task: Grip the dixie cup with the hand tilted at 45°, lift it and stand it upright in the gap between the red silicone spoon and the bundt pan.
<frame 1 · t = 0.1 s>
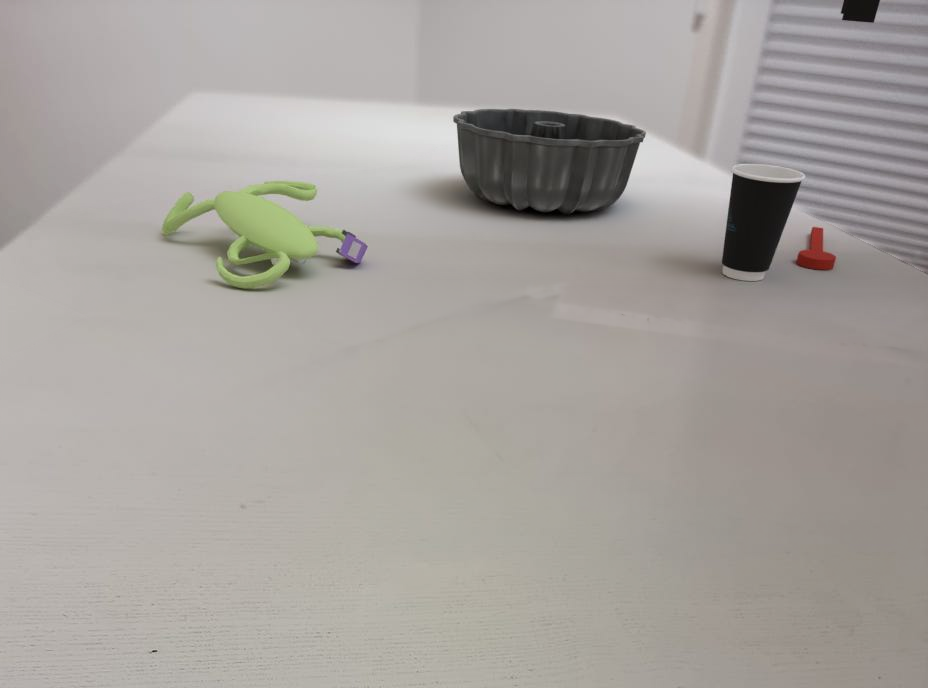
hand: (855, 18, 87), 25 cm above the table, tool pointing down, fingers open, 13 cm apart
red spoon: (815, 251, 117), on the table
figurine: (265, 252, 104), on the table
dixie cup: (742, 276, 107), on the table
bundt pan: (541, 202, 131), on the table
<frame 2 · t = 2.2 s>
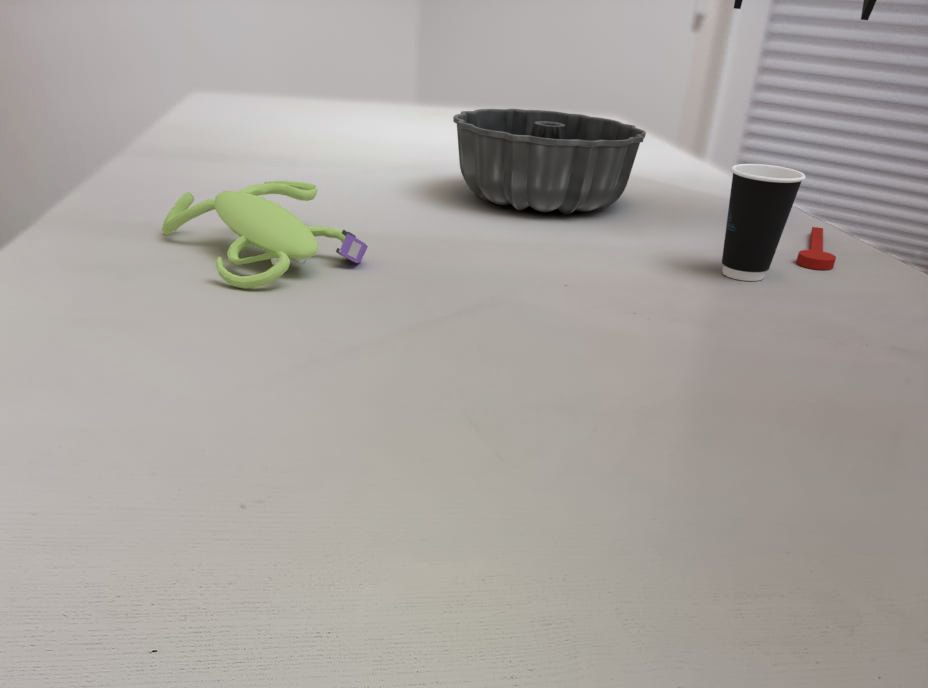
hand: (803, 4, 98), 26 cm above the table, tool tilted 45°, fingers open, 13 cm apart
nothing on the table moved.
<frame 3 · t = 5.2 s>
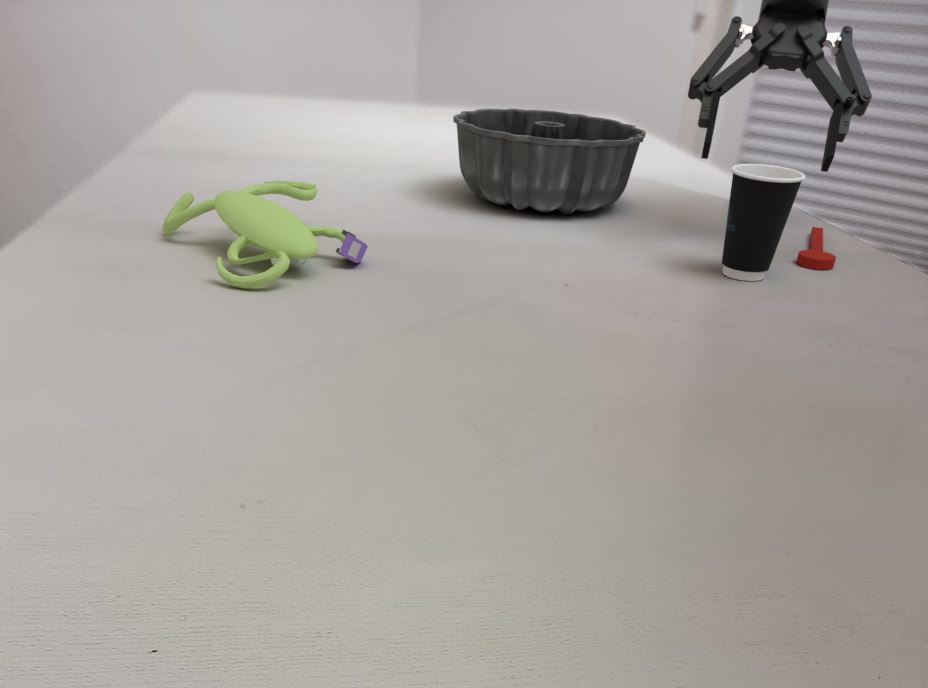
hand: (766, 157, 105), 11 cm above the table, tool tilted 45°, fingers open, 13 cm apart
nothing on the table moved.
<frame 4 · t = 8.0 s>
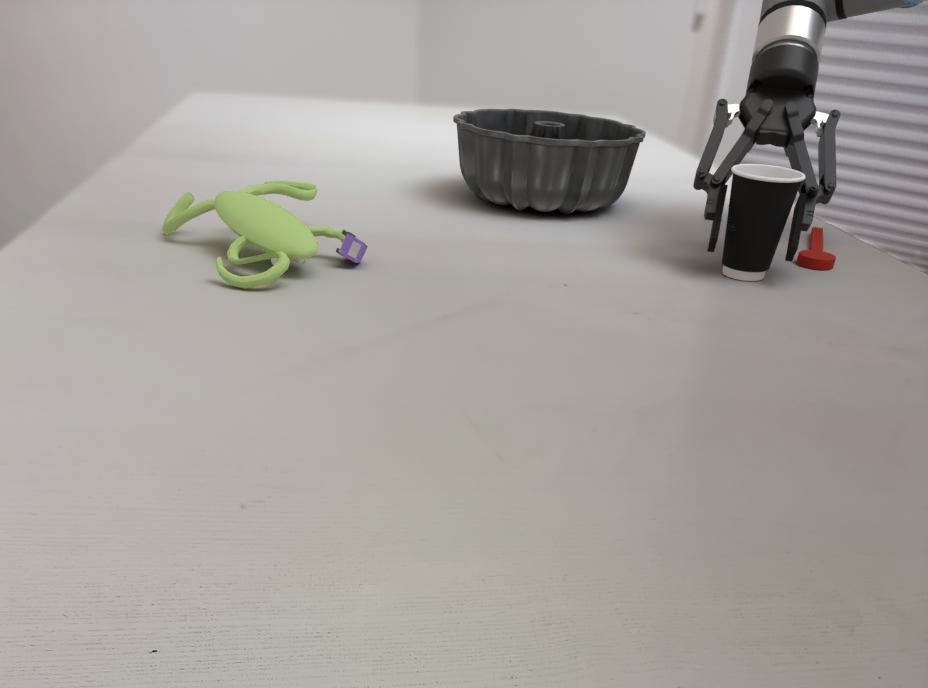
hand: (751, 249, 102), 4 cm above the table, tool tilted 45°, fingers closed on dixie cup, 8 cm apart
dixie cup: (742, 276, 107), on the table, touching gripper
everything else where it was.
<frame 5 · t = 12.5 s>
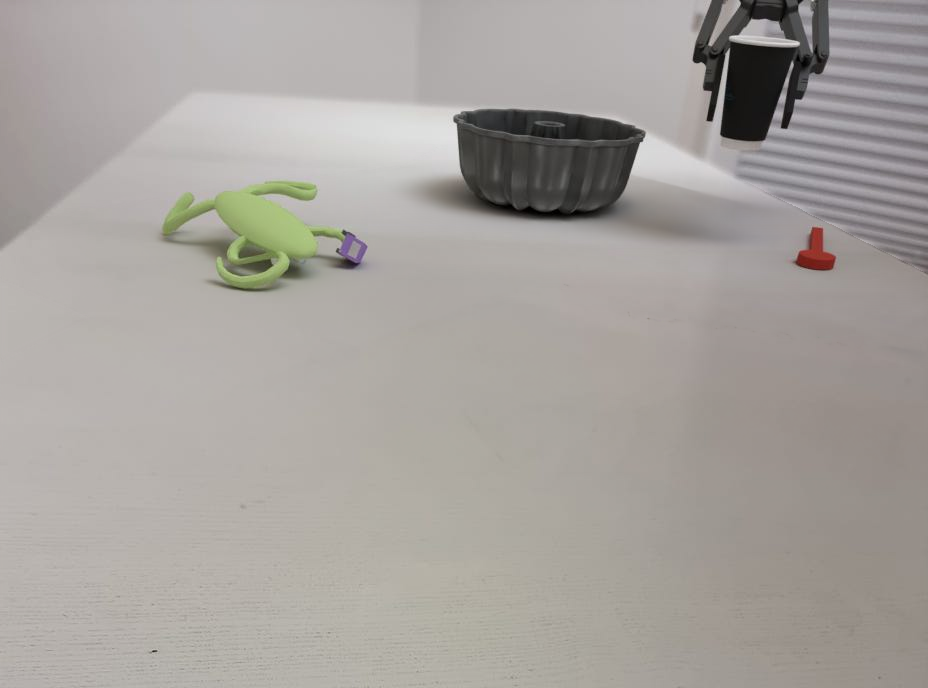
hand: (748, 116, 106), 15 cm above the table, tool tilted 45°, fingers closed on dixie cup, 8 cm apart
dixie cup: (739, 148, 111), point 11 cm above the table, touching gripper
everything else where it was.
when the fingers open (4 cm above the table, at t = 16.9 s): dixie cup stays where it is, on the table.
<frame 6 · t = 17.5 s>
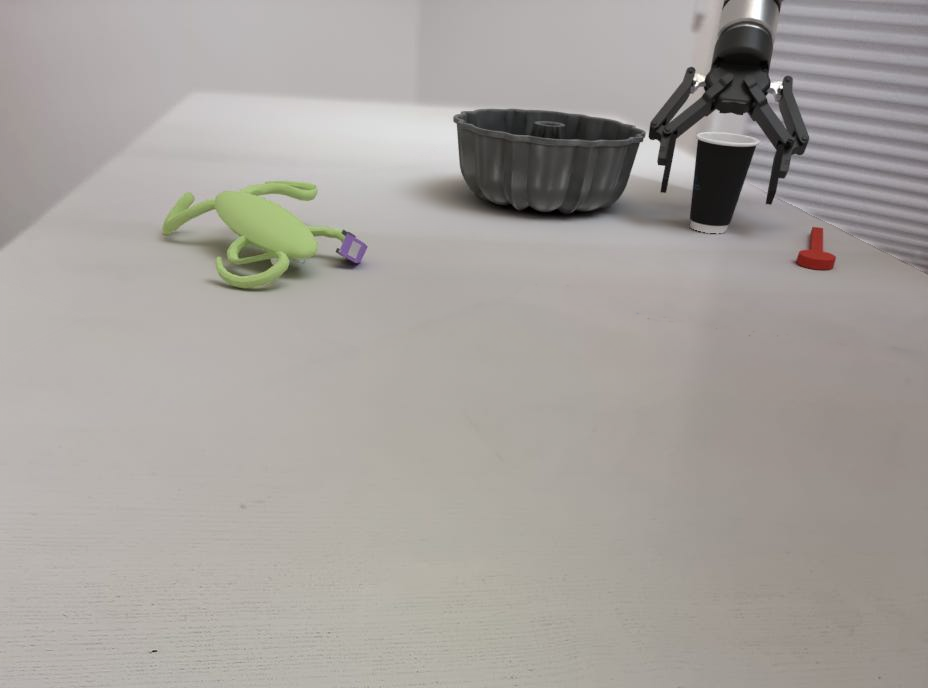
hand: (717, 192, 118), 5 cm above the table, tool tilted 45°, fingers open, 13 cm apart
dixie cup: (707, 230, 123), on the table
everything else where it was.
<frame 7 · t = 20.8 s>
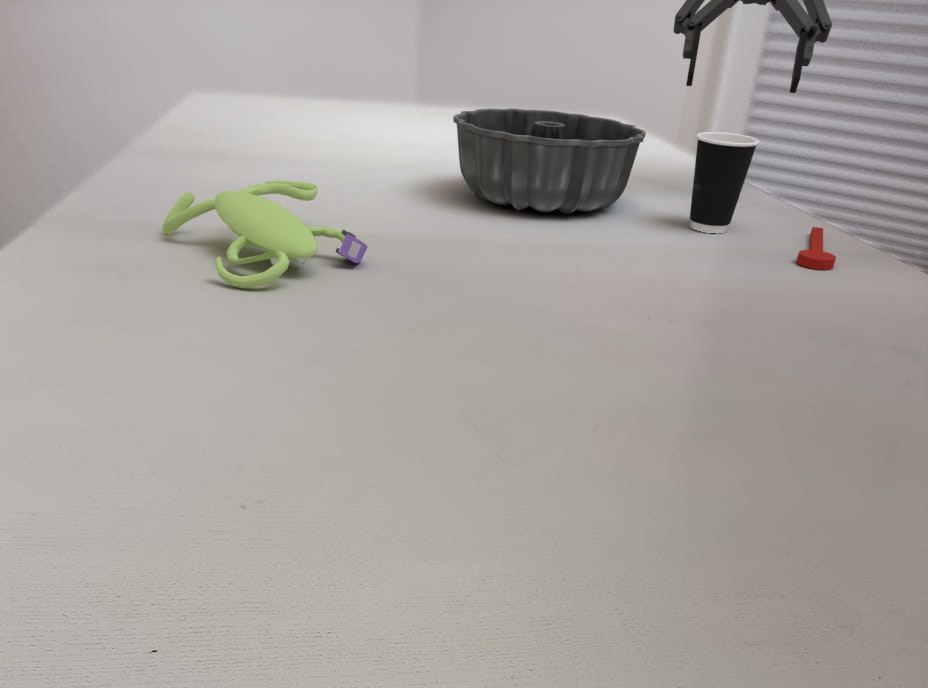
hand: (741, 82, 121), 16 cm above the table, tool tilted 40°, fingers open, 13 cm apart
nothing on the table moved.
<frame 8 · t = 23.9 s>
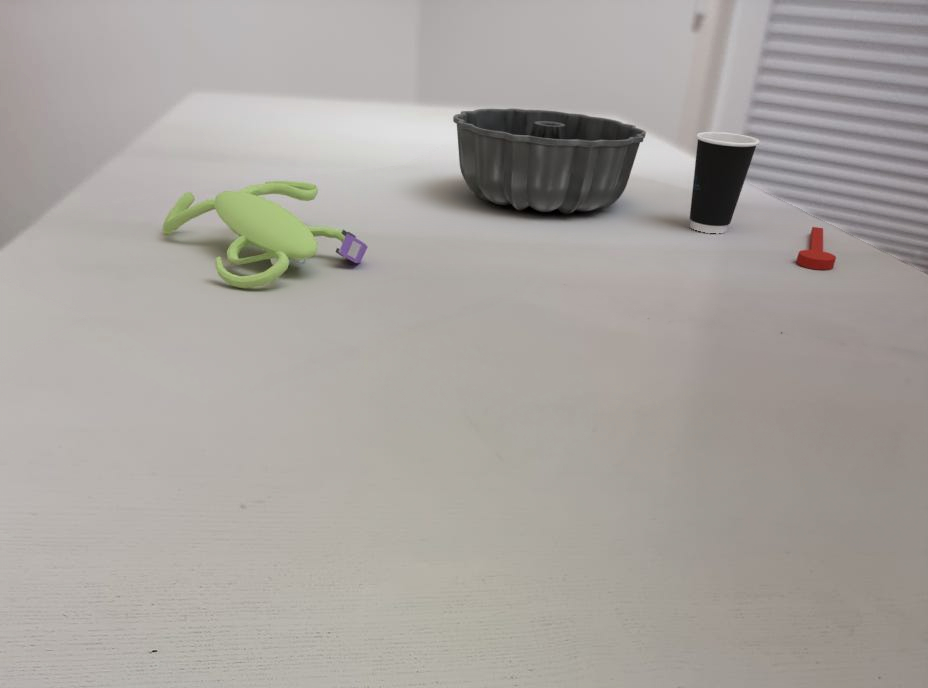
nothing on the table moved.
at the end: dixie cup inside the target area on the table beside the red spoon (1.0 cm from its centre), on the table; dixie cup tilted 0°; bundt pan moved 0.2 cm from its start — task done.
